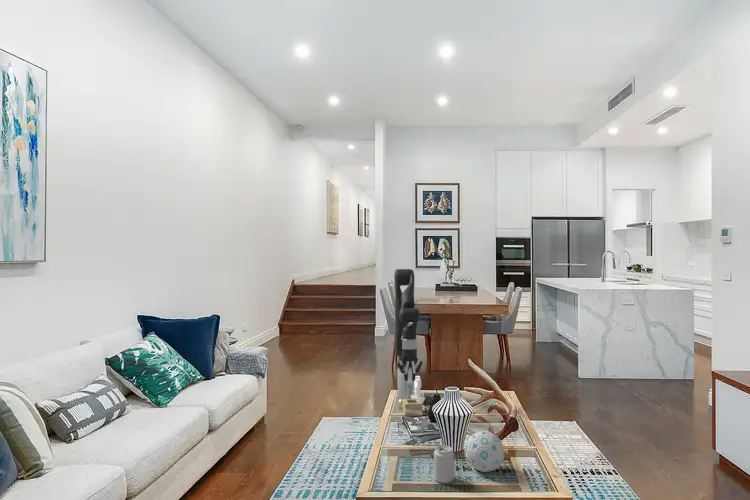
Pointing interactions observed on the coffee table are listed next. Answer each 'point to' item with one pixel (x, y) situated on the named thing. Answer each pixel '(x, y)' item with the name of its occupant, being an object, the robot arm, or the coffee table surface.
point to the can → (444, 464)
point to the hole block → (411, 407)
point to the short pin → (400, 404)
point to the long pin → (410, 377)
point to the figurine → (418, 390)
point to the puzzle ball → (484, 451)
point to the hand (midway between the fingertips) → (409, 380)
